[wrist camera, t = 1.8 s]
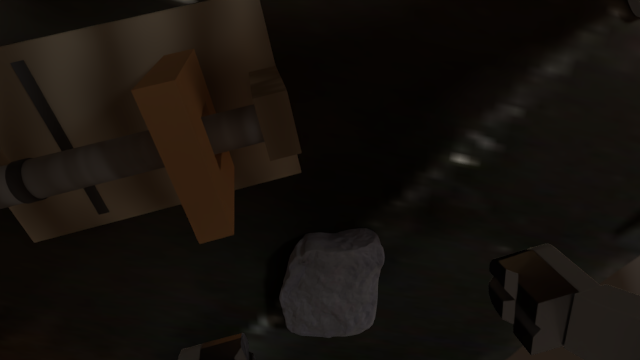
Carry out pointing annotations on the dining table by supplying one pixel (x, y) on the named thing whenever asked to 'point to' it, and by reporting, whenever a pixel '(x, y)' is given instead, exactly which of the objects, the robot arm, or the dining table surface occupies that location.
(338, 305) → the stone block
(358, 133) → the dining table surface
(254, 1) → the pipe stand
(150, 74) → the collar
